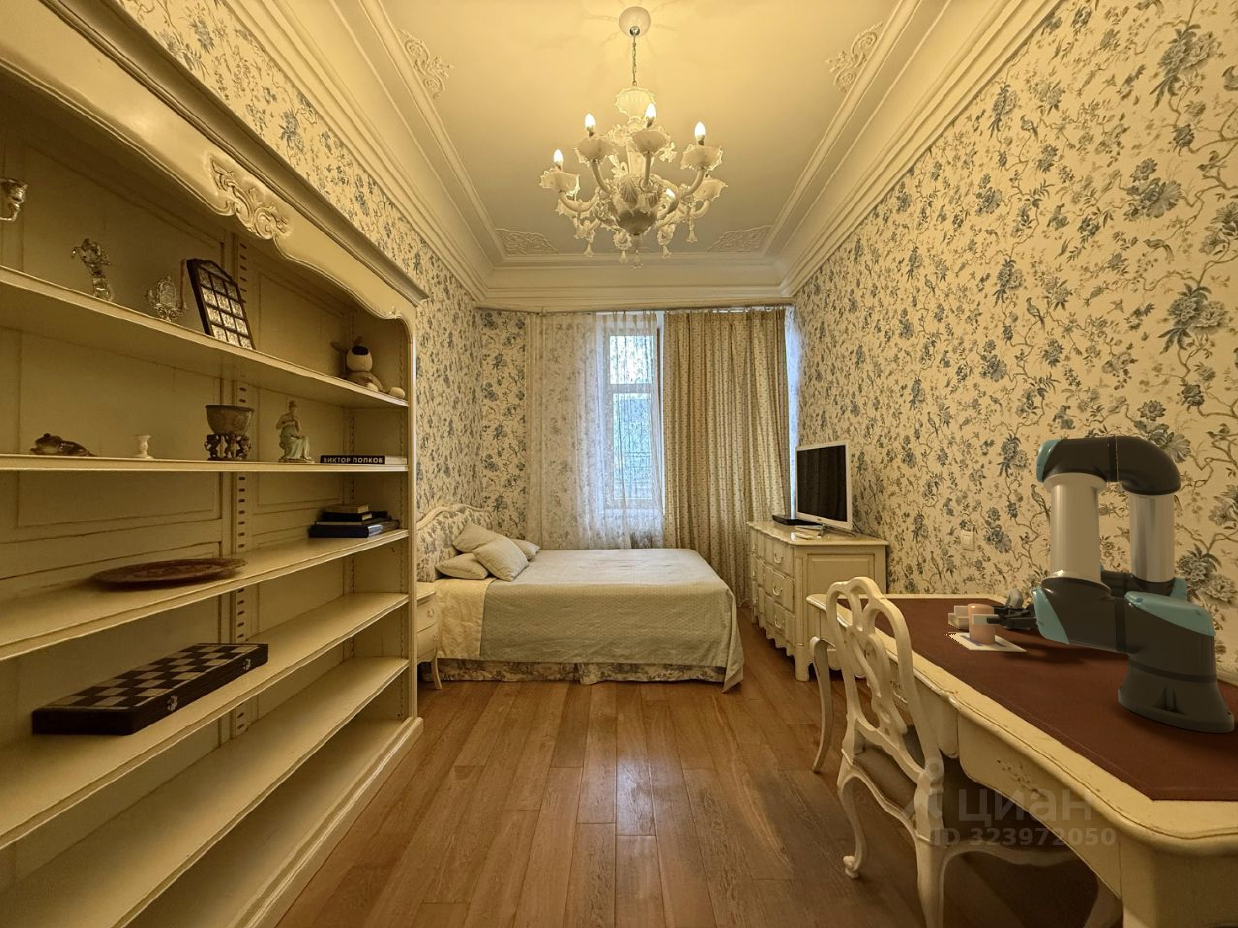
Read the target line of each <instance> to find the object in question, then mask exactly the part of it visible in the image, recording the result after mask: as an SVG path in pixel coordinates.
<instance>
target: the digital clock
mask: <svg viewBox="0 0 1238 928" xmlns="http://www.w3.org/2000/svg"><path fill="white" fill-rule="evenodd" d="M1024 602H1025V600H1024V597H1023V594H1022V592H1021V590H1020V589H1018V588H1016V587H1014V588H1011V589H1010V591H1009V592H1008V596H1007V598H1006V600H1005V602H1004V603H1003V605H1011V606H1012V607H1013V608H1016V607H1021V608H1024V609H1026V608H1025V607H1024V606H1023V605H1024ZM1002 628H1004V629H1006V630H1011V629H1013V628H1008V627H1007V626H1002ZM1016 629H1018V630H1025V631H1030V630H1031V628H1016Z"/></svg>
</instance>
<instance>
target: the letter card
mask: <svg viewBox="0 0 1238 928" xmlns="http://www.w3.org/2000/svg"><path fill="white" fill-rule="evenodd" d="M955 633H956V634H955V635H954V634H953V635H952V634H951V635H949V636H950V637H951V638H950V637H949V638H950V639H952V638H953V639H954V640H953V639H952V640H953V641H955V640H956V641H957V642H956V641H955V642H956V643H958V642H959V643H958V644H959V645H961V644H962V645H961V646H962V647H965V648H967V649H968V650H970V651H981V652H982V651H983V652H987V651H990V652H991V651H992V652H1025V653H1026V652H1027V650H1026V649H1024V648H1022V647H1020V646H1019V645H1015V644H1014V643H1012V642H1010V641H1008V640H1006V639H1005V638H1002V637H1000V636H999V635H996V634H995V642H996V643H995V644H981V643H976V642H973V641H971V640H970V637H969V632H955ZM945 636H947V634H946V635H945Z"/></svg>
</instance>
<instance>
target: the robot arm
mask: <svg viewBox="0 0 1238 928" xmlns="http://www.w3.org/2000/svg"><path fill="white" fill-rule="evenodd" d="M1035 464H1036V465H1035V466H1036V468H1035V476H1036V477H1035V478H1036V480H1037V482H1038V483H1041V484H1042V485H1043V488H1044V489H1045V490H1046V491H1048V492H1049V493H1050V539H1049V541H1050V542H1049V543H1050V544H1049V547H1050V549H1049V575H1047V576H1046V577H1044V578H1042V579H1041V581H1040V582H1041V583H1040V587H1039V586H1036V587H1032V589H1031V590H1032V601H1033V602H1029V603H1028V604H1027V606H1026V608H1025V607H1024V608H1025V609H1024V608H1021V607H1016V608H1013V607H1012V606H1011V605H1004V604H988V605H989V606H992V607H994V615H983V614H972V624H974V625H995V626H999V625H1000V626H1002V627H1003V626H1007V627H1008V628H1012V629H1017V628H1030V629H1031V628H1032V629H1036V630H1038V631H1039V633H1040V635H1041V636H1042V637H1043V638H1045V639H1047V640H1050V641H1053V642H1058V643H1062V644H1066V645H1075V646H1080V647H1086V648H1090V649H1091V648H1092V649H1096V650H1102V651H1107V652H1114V653H1119V654H1123V655H1124V654H1125V655H1128V668H1127V670H1126V673H1125V676H1124V678H1123V681H1122V684H1121V685H1120V686H1119V688H1118V690H1117V692H1118V703H1119V704H1121V705H1122V707H1123V708H1125V709H1127V710H1129V711H1130V712H1133V713H1135V714H1136V715H1139V716H1142V717H1144V718H1147V719H1150V720H1152V721H1154V722H1155V721H1156V722H1159V723H1161V724H1165V725H1169V726H1173V727H1177V728H1181V729H1185V730H1192V731H1197V732H1203V733H1211V734H1224V733H1231V732H1232V731H1234V730H1235V716H1234V714H1233V712H1232V711H1231V710H1230V709H1229V707H1228V703H1227V701H1226V699H1225V697H1224V694H1223V693H1222V691H1221V688H1220V687H1219V685H1218V675H1217V659H1216V658H1217V657H1216V643H1215V637H1216V636H1217V632H1216V631H1215V625H1214V618H1213V615H1212V613H1211V612H1210V611H1209V610H1207V609H1206V608H1205V607H1203V606H1201V605H1198V604H1196V603H1193V602H1190V601H1188V596H1187V595H1188V592H1187V591H1188V589H1187V583H1186V580H1185V579H1184V578H1183V577H1178V576H1175V574H1176V573H1175V572H1176V571H1175V570H1176V569H1175V568H1176V567H1175V564H1176V563H1175V562H1176V560H1175V559H1176V558H1175V554H1176V553H1175V551H1176V550H1175V547H1176V546H1175V494H1176V493H1178V492H1180V491H1181V488H1182V477H1181V473H1180V470H1179V468H1178V465H1177V463H1175V462H1174V460H1173V459H1172V457H1171V456H1170V455H1169V454H1168V453H1167V452H1166V451H1165V450H1163V449H1162V448H1161V447H1160V446H1158V445H1156V444H1154V443H1153V442H1151V441H1149V440H1146V439H1144V438H1141V437H1137V436H1132V435H1115V436H1114V435H1113V436H1111V435H1110V436H1098V437H1096V436H1092V437H1078V438H1077V437H1076V438H1067V437H1062V438H1058V439H1047V440H1045V441H1044V442H1043V443H1041V445H1040V447H1039V449H1038V452H1037V457H1036V463H1035ZM1107 483H1121V489H1122V490H1123V491H1125V492H1126V493H1127V498H1128V499H1127V501H1128V503H1127V504H1128V522H1129V523H1128V525H1129V550H1130V553H1129V554H1130V572H1126V571H1114V570H1107V569H1105V567H1104V564H1102V563H1101V544H1100V542H1101V541H1100V511H1099V510H1100V509H1099V508H1100V507H1099V506H1100V505H1099V494H1101V493H1103V492H1104V491H1105V490H1106V489H1107V487H1108V485H1107ZM984 605H987V604H984ZM953 613H954V615H961V616H968V605H953Z"/></svg>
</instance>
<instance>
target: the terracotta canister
mask: <svg viewBox="0 0 1238 928" xmlns="http://www.w3.org/2000/svg"><path fill="white" fill-rule="evenodd" d="M989 605H990V604H986V605H984V604H983V603H968V604H967V606H968V616H969V630H968V631H969V632H968V633H969V637H970V640H971V641H973V642H976V643H981V644H995V643H996V642H995V635H996V625H974V624H972V614H983V615H994V607H992V606H989Z"/></svg>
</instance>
